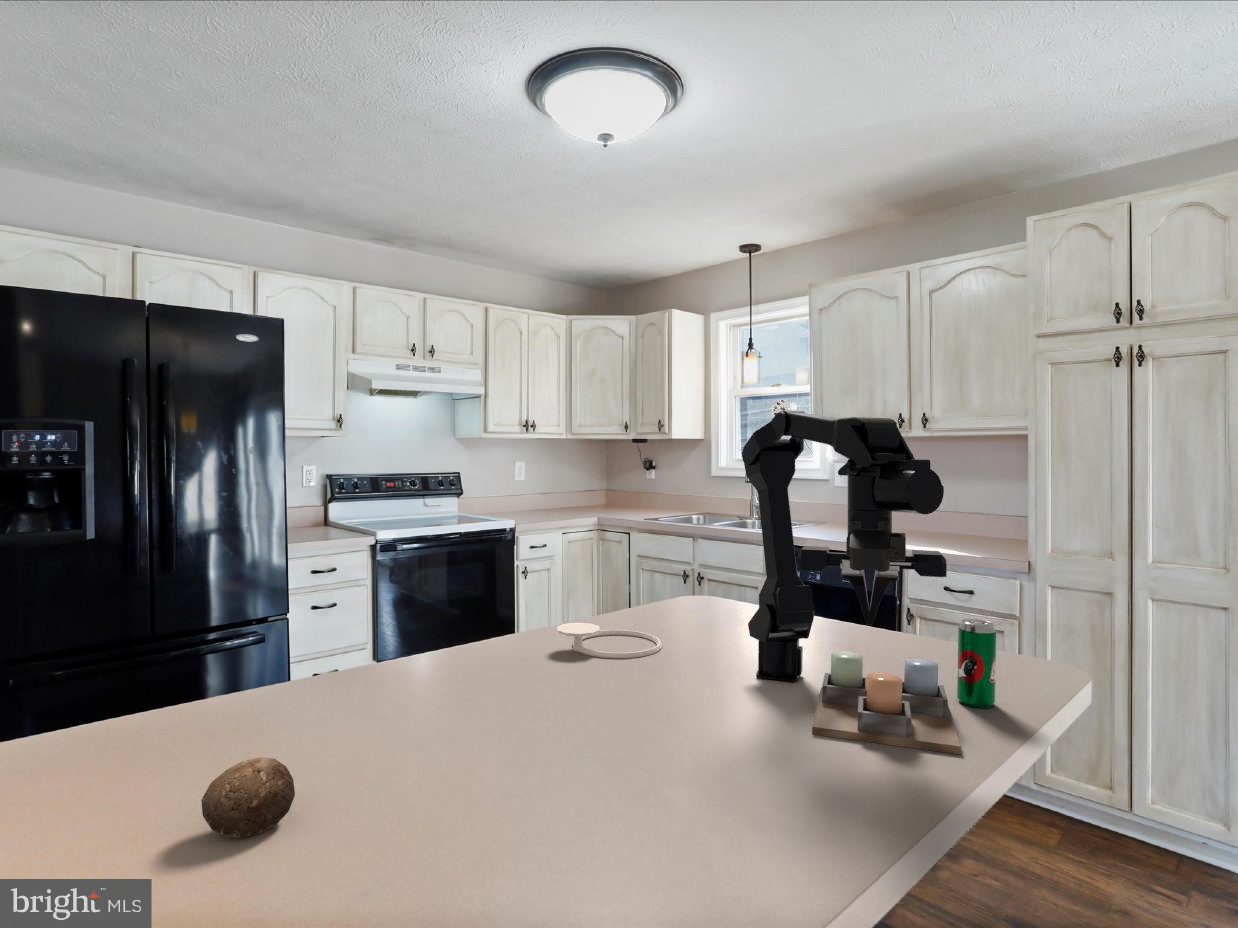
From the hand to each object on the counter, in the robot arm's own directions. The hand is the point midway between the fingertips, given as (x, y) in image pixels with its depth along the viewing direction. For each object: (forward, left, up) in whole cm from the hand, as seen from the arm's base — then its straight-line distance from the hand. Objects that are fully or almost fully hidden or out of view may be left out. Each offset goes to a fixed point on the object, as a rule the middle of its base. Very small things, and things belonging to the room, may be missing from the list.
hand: (869, 624), depth 97 cm
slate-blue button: (+7, +6, -10) cm, 14 cm away
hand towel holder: (-46, +23, -14) cm, 53 cm away
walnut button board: (+2, +1, -14) cm, 14 cm away
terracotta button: (+2, -3, -10) cm, 11 cm away
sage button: (-3, +6, -10) cm, 12 cm away
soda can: (+15, +14, -14) cm, 24 cm away
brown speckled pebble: (-57, -49, -14) cm, 77 cm away
